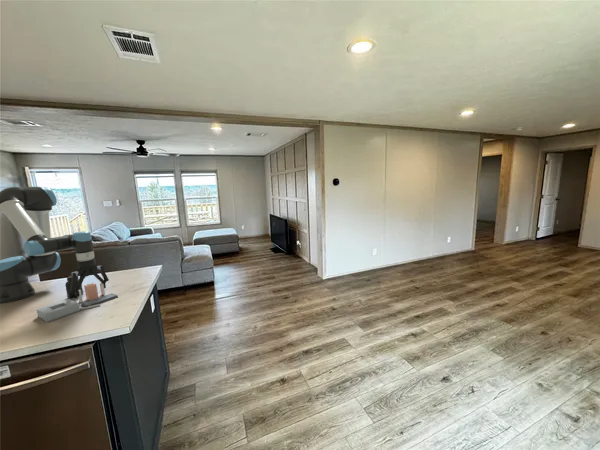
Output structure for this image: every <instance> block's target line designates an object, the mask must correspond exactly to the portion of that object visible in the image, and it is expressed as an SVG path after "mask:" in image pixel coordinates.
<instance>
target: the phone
mask: <svg viewBox="0 0 600 450" xmlns="http://www.w3.org/2000/svg"><path fill="white" fill-rule="evenodd" d="M116 298H119V296H118V295H117V294H115V293H108V294H105V295H103V296H98V298H95V299H92V300H88V301H83V302H80V306H82V307H83V308H84V307H88V306H93V305H98V304H103V303H105V302H108V301H110V300H111V301H112V300H114V299H116Z"/></svg>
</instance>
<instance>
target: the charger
mask: <svg viewBox="0 0 600 450" xmlns="http://www.w3.org/2000/svg"><path fill="white" fill-rule="evenodd" d="M83 287H84V288H83V289H84V292H85V298H86V300H88V301H90V300H93V299H96V298H99V294H98V287H97V283H94V282H90V283H87V284H85V285H83Z"/></svg>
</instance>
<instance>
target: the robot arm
mask: <svg viewBox="0 0 600 450" xmlns="http://www.w3.org/2000/svg"><path fill="white" fill-rule="evenodd" d="M57 203H58V201H57V196H56V194H55V192H54V191H53V190H52V189H51V188H49V187H46V186H10V187H5V188H4V189H2V190H0V213H2V214H4V215H5V216H6V218H7V219H8V220H9V222H11V224H12V225H13V227H14V228H15V229H16V230H17V232H18V233H19V235H20V236H21V237H22V239H23V240H24V241H25V242H24V243H23V246H22V247H23V250H24V253H25V254H26V255H27V257H26V256H25V257H24V256H23V255H17V256H11V257H7V258H3V259H0V304H1V303H2V304H3V303H10V301H11V302H15V301H19V300H23V299H26V298H30V297H31V296H34V295H35V294H36V289H35V288H34V286H33V285H32V284H31V283H30V281H29V277H32V276H36V275H40V274H45V273H50V272H52V271H56V270H57V269H58V268H59V267H60V265H61V261H62V259H61V256H60V254H59V252H60V251H65V250H71V249H72V250H73V249H74V252H75V257H76V258H75V259H76V263H77V271H72V272H71V273H70V276H72V278H71V284H70V291H75V295H76V297H77V299H78V303H84V300H83V295H82V294H81V290H79V289H80V287H81V284H82V285H83V282H84V279H86V278H88V277H89V276H93V277H95V278H96V279H97V280H98V281H99V288H100V294H101V295H103V296H105V295H106V291H105V289H106V288H107V287H106V284H107V282H109V281H110V279H109V277H108V276H107V275H108V274H106V272H105V270H104V266H103V265H97V264H96V263H97V262H96V259H95V250H94V245H93V237H92V234H91V232H90V231H85V230H84V231H83V230H82V231H76V232H73V233H72V234H65V235H62V236H56V237H51V225H50V223H51V222H50V212H51V211H52V210H53V207H55V206H56V205H57ZM97 270H98V271H99V273H100V274H101V275H99V274H98V272H96V271H97ZM78 274H79V275H78ZM77 275H78V278H79V280H78V282H77V284H76V278H77ZM101 276H102V277H101ZM75 284H76V287H75Z"/></svg>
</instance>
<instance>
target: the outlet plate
mask: <svg viewBox="0 0 600 450" xmlns="http://www.w3.org/2000/svg"><path fill="white" fill-rule="evenodd" d="M80 308H81V307H80V302H77V301H74V300H72V299H70V298H67V299H64V300H61V301H58V302H55V303H51V304H49V305H45V306H42V307H39V308H36V313H37V317H38V318H39V319H41V320H42V321H44V322H45V323H50V322H52V321H54V320H58V319H61V318H64V317H67V316H69V315H72V314H75V313H78V312H81V310H80Z"/></svg>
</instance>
